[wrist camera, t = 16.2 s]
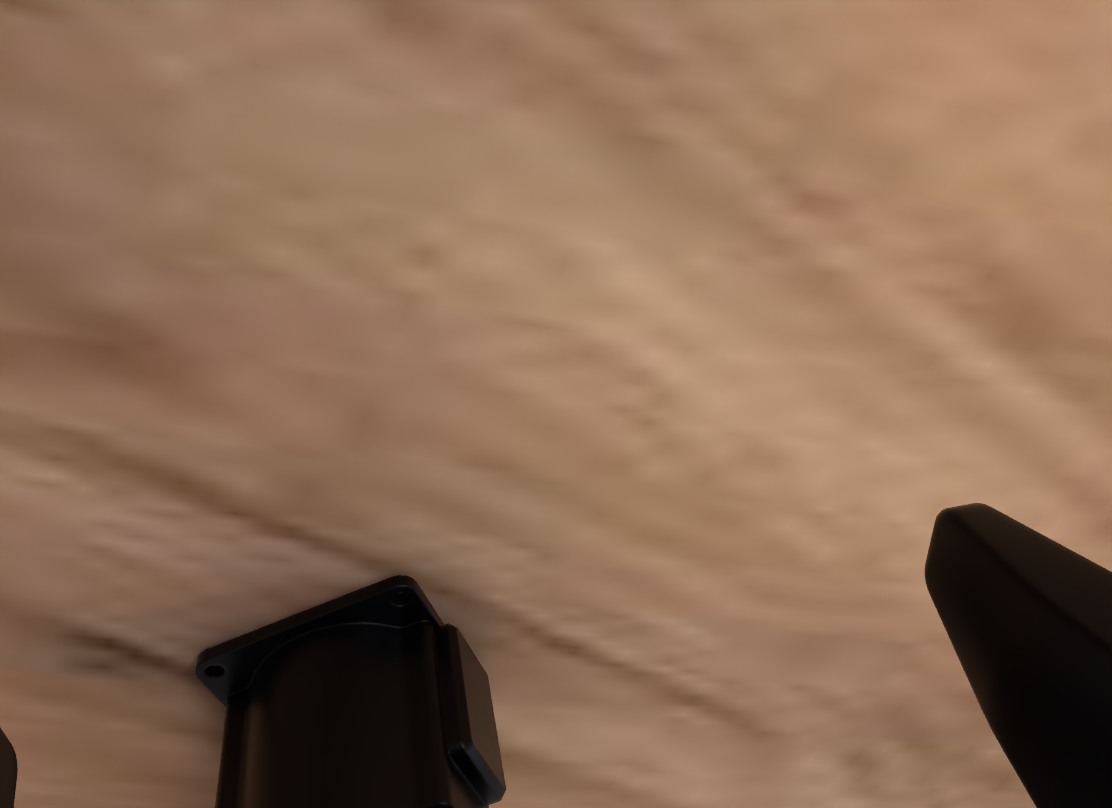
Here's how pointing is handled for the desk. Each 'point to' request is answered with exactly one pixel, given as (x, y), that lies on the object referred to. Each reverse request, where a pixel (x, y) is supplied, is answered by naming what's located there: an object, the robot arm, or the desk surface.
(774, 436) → the desk surface
